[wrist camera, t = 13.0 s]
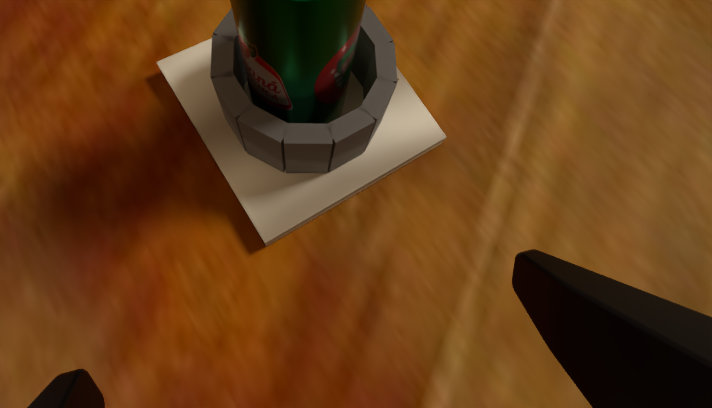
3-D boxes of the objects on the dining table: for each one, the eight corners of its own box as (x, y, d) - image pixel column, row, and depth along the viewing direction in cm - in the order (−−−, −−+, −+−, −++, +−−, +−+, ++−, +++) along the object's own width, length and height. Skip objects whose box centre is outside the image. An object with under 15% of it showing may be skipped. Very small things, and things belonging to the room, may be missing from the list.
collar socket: (441, 143, 25) (474, 103, 21) (266, 246, 22) (258, 226, 18) (336, -5, 27) (344, -73, 22) (162, 72, 24) (128, 11, 19)
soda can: (238, 81, 24) (181, -144, 12) (319, 53, 25) (338, -176, 13) (275, 158, 23) (251, -7, 11) (357, 125, 24) (412, -55, 12)
